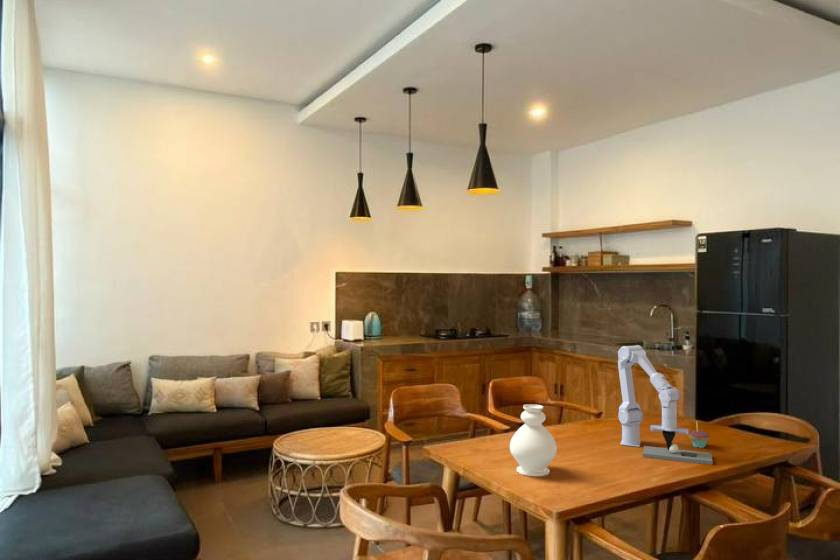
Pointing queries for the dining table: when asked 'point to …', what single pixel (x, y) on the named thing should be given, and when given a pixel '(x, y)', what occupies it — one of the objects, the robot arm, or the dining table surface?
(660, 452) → the board
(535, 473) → the decorative vase
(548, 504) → the dining table surface
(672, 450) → the ball
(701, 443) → the cupcake
